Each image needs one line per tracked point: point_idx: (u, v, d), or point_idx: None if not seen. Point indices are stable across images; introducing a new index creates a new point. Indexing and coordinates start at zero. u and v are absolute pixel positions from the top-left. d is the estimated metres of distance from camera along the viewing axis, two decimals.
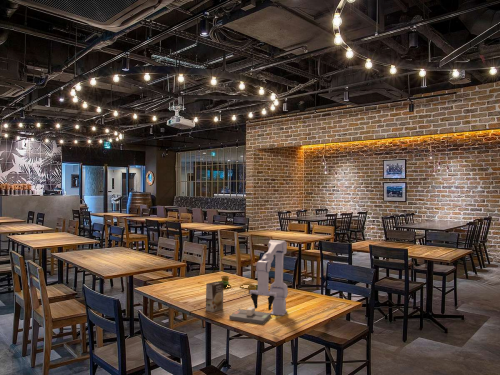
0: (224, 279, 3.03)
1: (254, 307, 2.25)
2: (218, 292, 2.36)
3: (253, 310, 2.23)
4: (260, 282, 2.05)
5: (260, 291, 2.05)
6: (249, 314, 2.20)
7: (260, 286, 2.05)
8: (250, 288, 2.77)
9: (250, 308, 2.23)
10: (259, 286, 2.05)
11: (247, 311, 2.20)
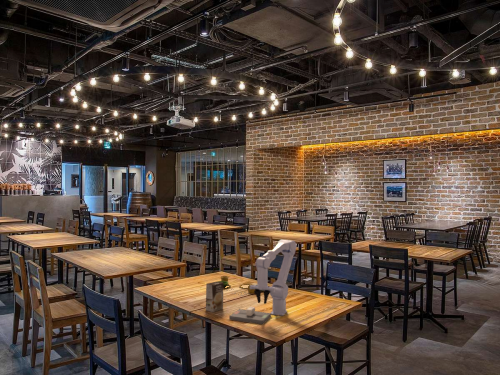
0: (223, 279, 3.03)
1: (254, 307, 2.25)
2: (218, 292, 2.36)
3: (253, 310, 2.23)
4: (258, 277, 2.18)
5: (260, 286, 2.18)
6: (249, 314, 2.20)
7: (260, 281, 2.18)
8: None
9: (250, 308, 2.23)
10: (259, 281, 2.18)
11: (247, 311, 2.20)
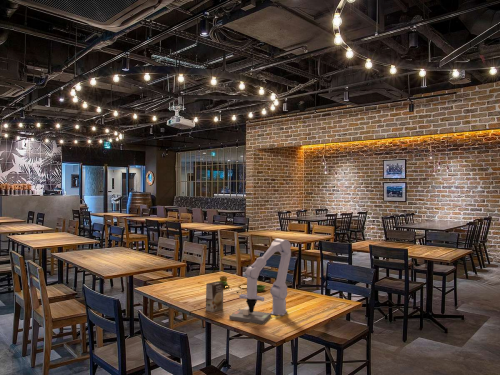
0: (222, 279, 3.03)
1: None
2: (218, 292, 2.36)
3: None
4: (247, 286, 2.22)
5: (249, 295, 2.20)
6: (246, 314, 2.20)
7: (249, 291, 2.20)
8: None
9: (247, 307, 2.24)
10: (248, 291, 2.21)
11: (244, 311, 2.21)
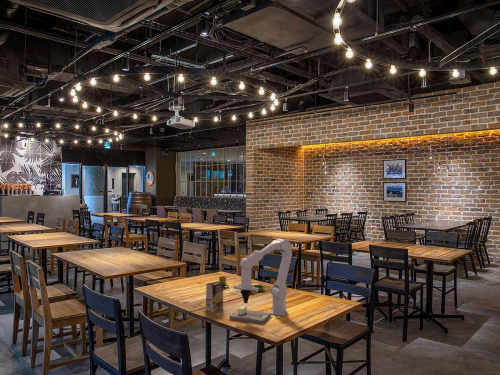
0: (222, 279, 3.02)
1: (246, 306, 2.27)
2: (218, 292, 2.36)
3: (245, 309, 2.25)
4: (241, 277, 2.23)
5: (243, 286, 2.22)
6: (241, 313, 2.22)
7: (243, 281, 2.22)
8: None
9: (242, 307, 2.25)
10: (242, 282, 2.22)
11: (239, 310, 2.22)
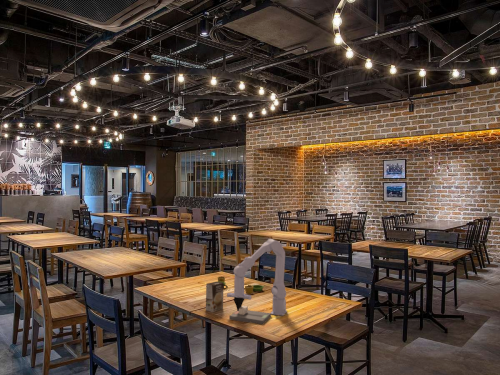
0: (220, 279, 3.02)
1: (247, 306, 2.26)
2: (218, 292, 2.36)
3: (246, 309, 2.24)
4: (234, 285, 2.25)
5: (236, 294, 2.23)
6: (242, 313, 2.21)
7: (236, 289, 2.23)
8: (247, 288, 2.76)
9: (243, 307, 2.25)
10: (235, 289, 2.24)
11: (240, 310, 2.22)
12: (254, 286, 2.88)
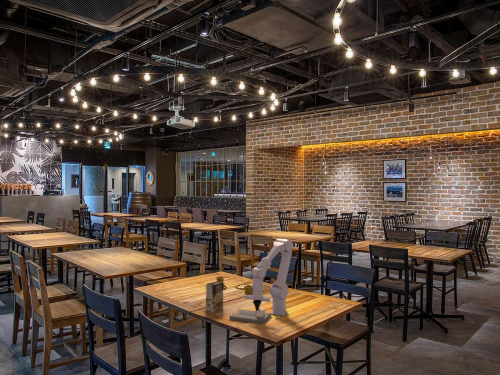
0: (219, 280, 3.01)
1: None
2: (218, 292, 2.36)
3: (263, 311, 2.21)
4: (253, 287, 2.20)
5: (255, 296, 2.19)
6: (259, 315, 2.17)
7: (255, 291, 2.19)
8: (246, 288, 2.75)
9: (260, 309, 2.21)
10: (254, 291, 2.19)
11: (257, 312, 2.18)
12: None
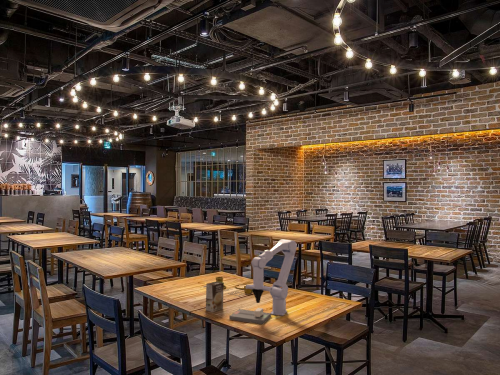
0: (218, 280, 3.01)
1: (262, 308, 2.23)
2: (218, 292, 2.36)
3: (261, 311, 2.21)
4: (254, 277, 2.20)
5: (255, 286, 2.19)
6: (257, 315, 2.18)
7: (255, 281, 2.19)
8: None
9: (259, 309, 2.22)
10: (254, 281, 2.19)
11: (255, 312, 2.18)
12: None
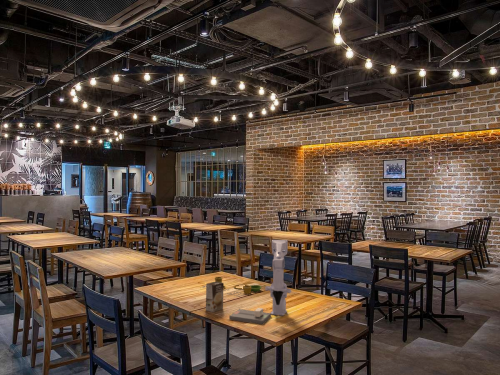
0: (218, 280, 3.01)
1: (262, 308, 2.23)
2: (218, 292, 2.36)
3: (261, 311, 2.21)
4: (277, 279, 2.15)
5: (275, 287, 2.15)
6: (257, 315, 2.18)
7: (275, 282, 2.15)
8: (245, 289, 2.75)
9: (259, 309, 2.22)
10: (274, 282, 2.16)
11: (255, 312, 2.18)
12: (252, 286, 2.88)
